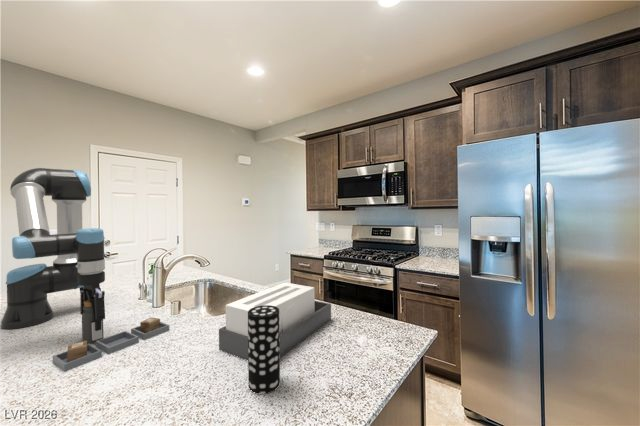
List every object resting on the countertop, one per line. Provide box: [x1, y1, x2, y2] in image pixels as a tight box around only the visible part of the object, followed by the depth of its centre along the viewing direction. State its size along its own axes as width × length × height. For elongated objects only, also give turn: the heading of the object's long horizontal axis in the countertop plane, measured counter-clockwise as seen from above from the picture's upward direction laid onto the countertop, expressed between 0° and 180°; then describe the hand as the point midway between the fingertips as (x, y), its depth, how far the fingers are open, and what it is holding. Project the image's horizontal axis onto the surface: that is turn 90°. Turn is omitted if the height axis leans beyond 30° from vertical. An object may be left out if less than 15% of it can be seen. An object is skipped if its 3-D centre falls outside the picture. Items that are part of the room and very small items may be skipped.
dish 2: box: [95, 330, 140, 355], centre depth 97 cm, size 9×9×2 cm
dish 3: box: [130, 321, 170, 341], centre depth 106 cm, size 9×9×2 cm
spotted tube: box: [247, 305, 281, 394], centre depth 75 cm, size 8×8×20 cm
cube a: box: [139, 317, 161, 333], centre depth 106 cm, size 4×4×5 cm
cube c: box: [66, 341, 87, 362], centre depth 87 cm, size 4×4×5 cm
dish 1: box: [52, 344, 103, 372], centre depth 87 cm, size 9×9×2 cm
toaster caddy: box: [218, 300, 332, 361], centre depth 106 cm, size 21×40×7 cm, turn 149°
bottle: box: [81, 299, 104, 345], centre depth 100 cm, size 6×6×15 cm
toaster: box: [225, 281, 316, 337], centre depth 104 cm, size 35×16×15 cm, turn 149°
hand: (93, 336), depth 100 cm, fingers closed on bottle, 6 cm apart
